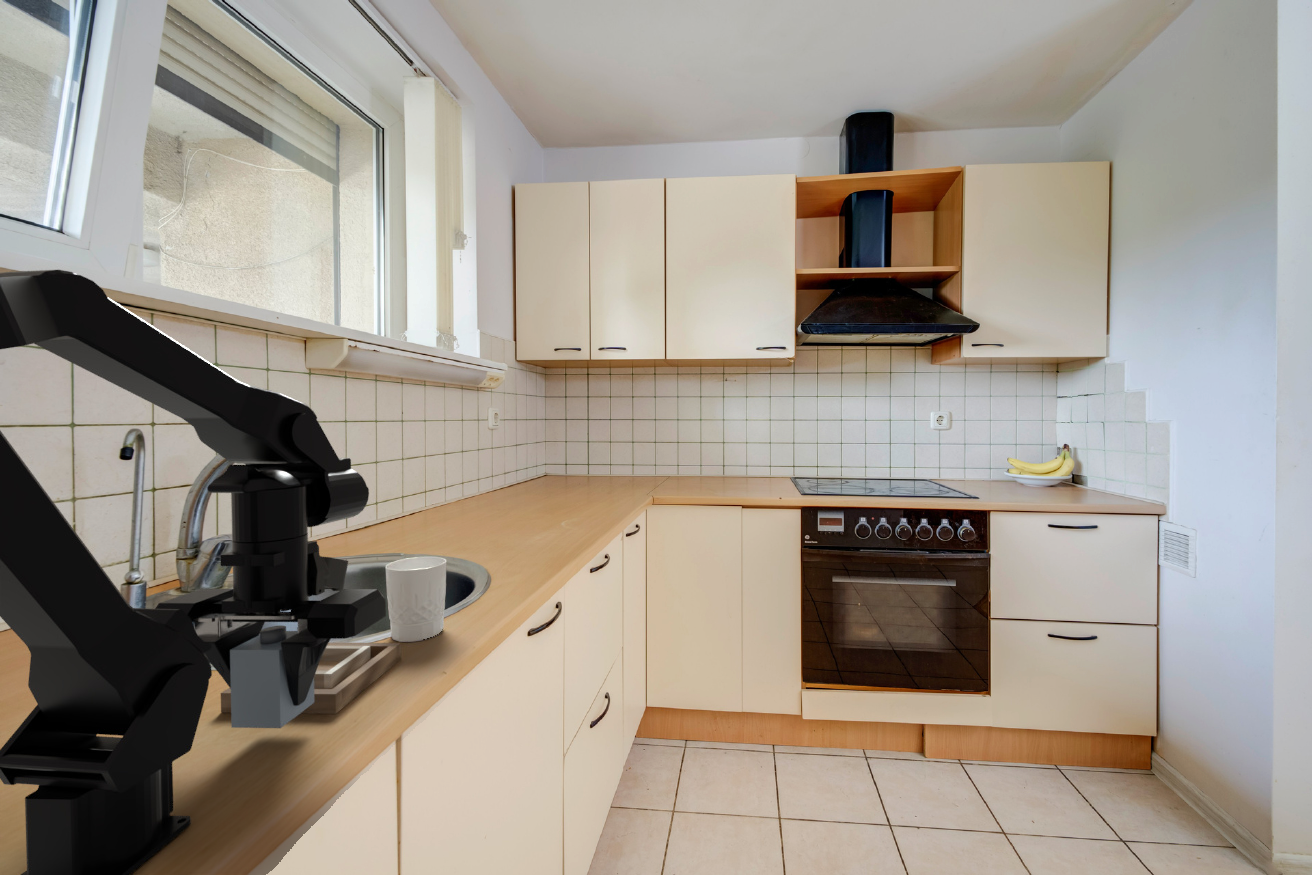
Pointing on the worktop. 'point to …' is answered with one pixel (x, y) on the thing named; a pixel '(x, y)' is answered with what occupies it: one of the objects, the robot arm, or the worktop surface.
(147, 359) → the robot arm
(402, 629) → the white cup
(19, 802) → the worktop surface
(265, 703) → the block
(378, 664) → the walnut box
